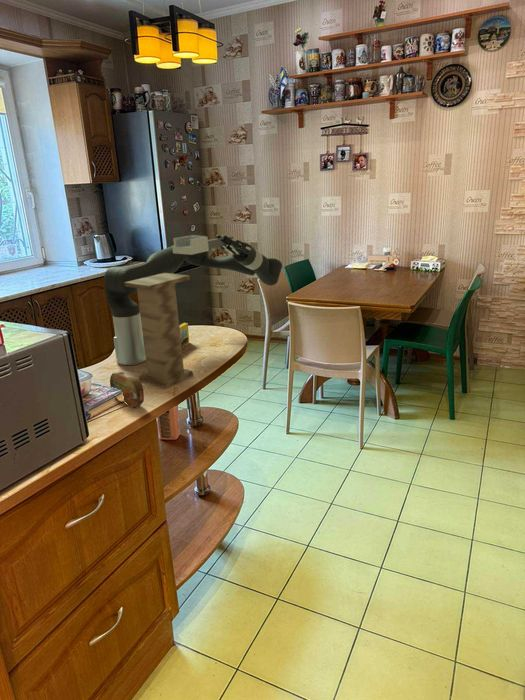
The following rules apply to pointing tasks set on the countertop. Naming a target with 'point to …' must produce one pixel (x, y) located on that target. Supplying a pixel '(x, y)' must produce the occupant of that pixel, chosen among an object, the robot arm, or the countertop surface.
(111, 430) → the countertop surface
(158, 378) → the stand
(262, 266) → the robot arm
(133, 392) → the tin
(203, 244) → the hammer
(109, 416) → the countertop surface
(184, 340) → the candy box
